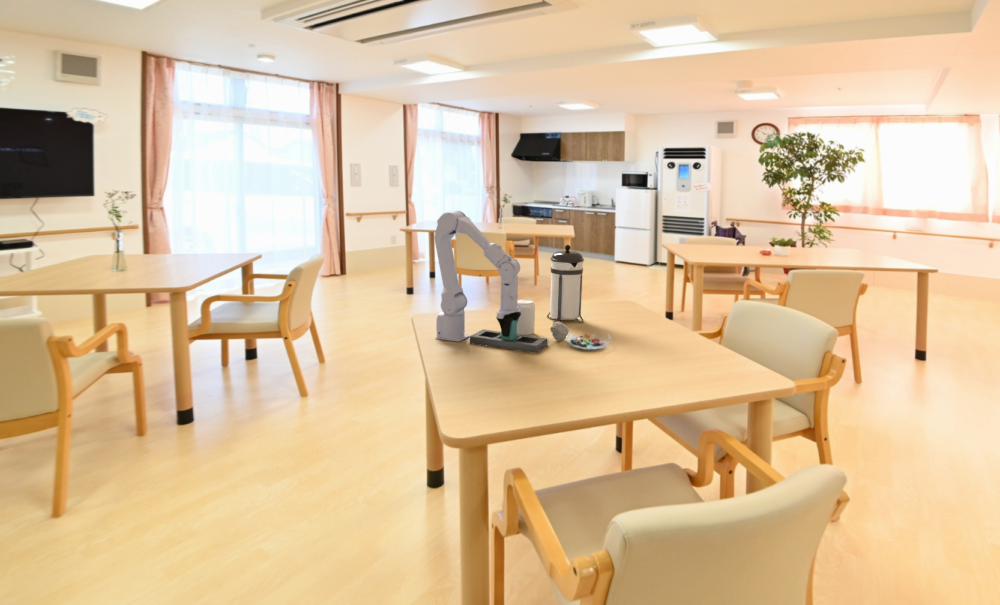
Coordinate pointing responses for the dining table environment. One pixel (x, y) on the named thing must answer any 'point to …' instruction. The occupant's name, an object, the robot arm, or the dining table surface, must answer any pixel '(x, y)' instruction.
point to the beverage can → (526, 317)
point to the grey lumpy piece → (559, 331)
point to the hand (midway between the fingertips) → (508, 334)
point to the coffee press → (566, 285)
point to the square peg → (511, 331)
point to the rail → (509, 341)
